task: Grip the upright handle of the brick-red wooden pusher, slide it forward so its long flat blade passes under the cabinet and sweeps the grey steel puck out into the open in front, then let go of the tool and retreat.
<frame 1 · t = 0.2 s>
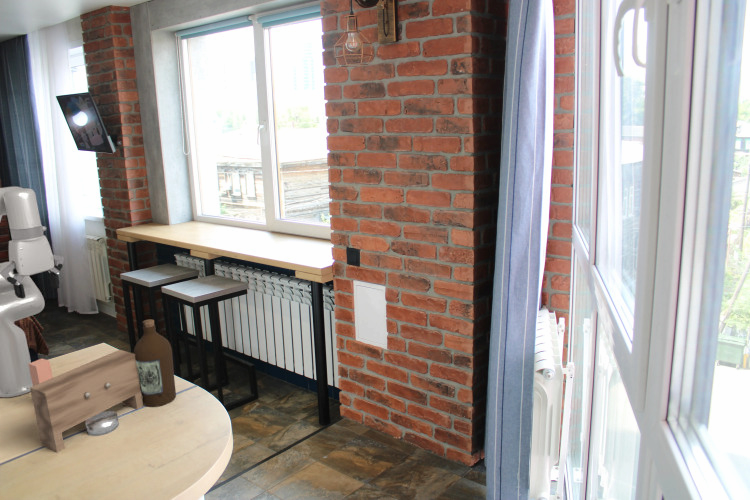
hand: (38, 292, 162), 35 cm above the table, tool pointing down, fingers open, 9 cm apart
puck: (103, 428, 158), on the table
olive oil: (159, 400, 172), on the table
pusher: (47, 405, 171), on the table
cabinet: (95, 424, 159), on the table
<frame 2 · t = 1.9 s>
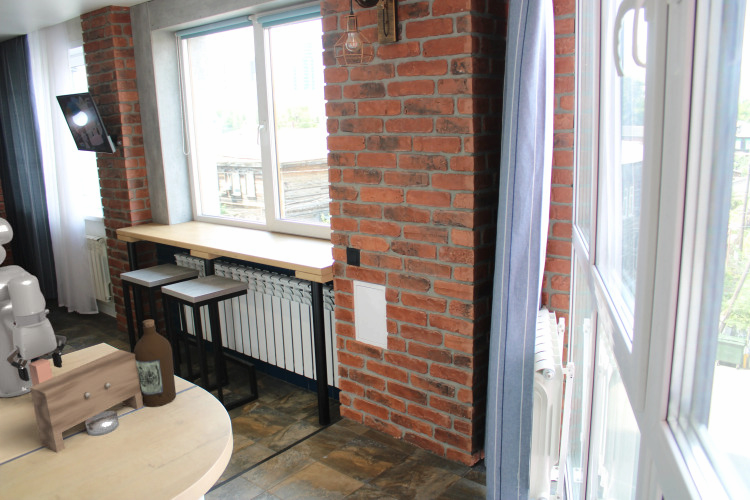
hand: (42, 373, 168), 11 cm above the table, tool pointing down, fingers open, 9 cm apart
nothing on the table moved.
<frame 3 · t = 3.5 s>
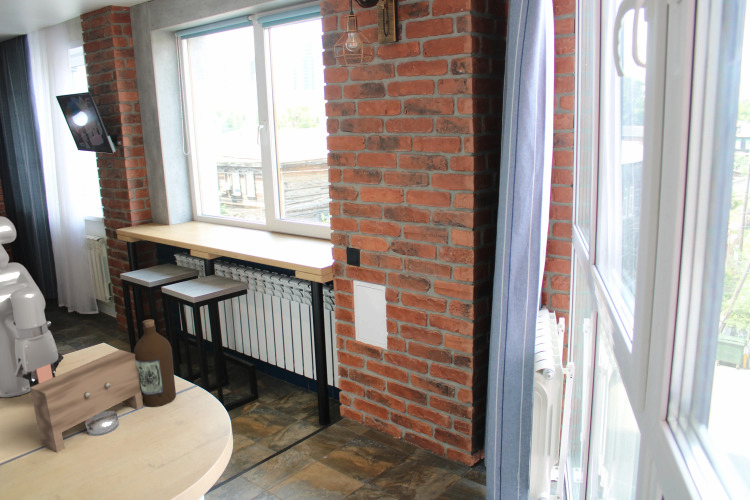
hand: (44, 387, 170), 6 cm above the table, tool pointing down, fingers closed on pusher, 4 cm apart
pusher: (47, 405, 171), on the table, touching gripper
everything else where it was.
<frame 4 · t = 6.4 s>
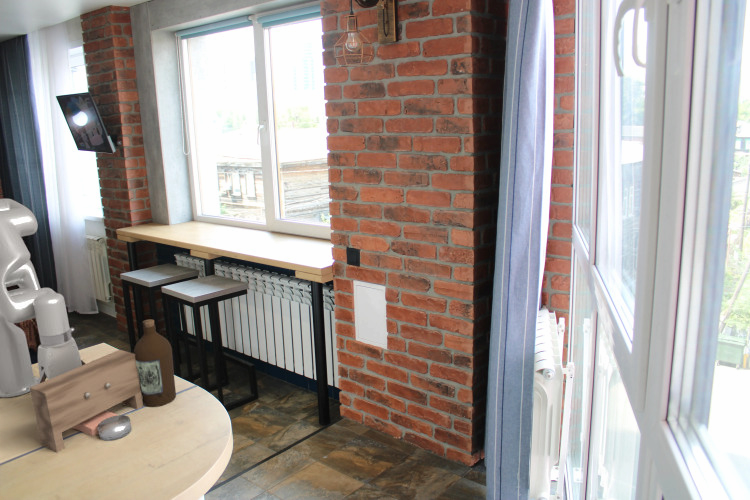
hand: (66, 396, 164), 6 cm above the table, tool pointing down, fingers closed on pusher, 4 cm apart
puck: (115, 432, 155), on the table, touching pusher
pusher: (70, 414, 166), on the table, touching gripper, puck
everything else where it was.
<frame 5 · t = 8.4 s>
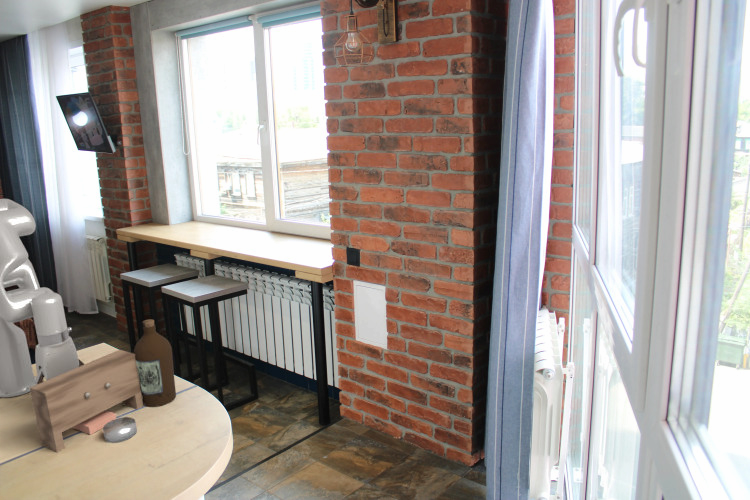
hand: (64, 395, 165), 6 cm above the table, tool pointing down, fingers closed on pusher, 4 cm apart
puck: (120, 435, 154), on the table
pusher: (67, 413, 166), on the table, touching gripper
everything else where it was.
when the fingers open (6 cm above the table, at t = 9.7 s): pusher stays where it is, on the table.
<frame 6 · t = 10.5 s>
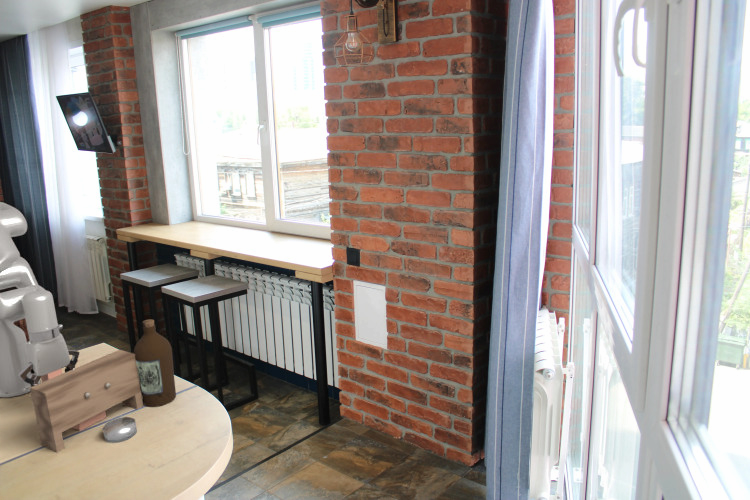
hand: (54, 388, 167), 7 cm above the table, tool pointing down, fingers open, 9 cm apart
pusher: (58, 409, 168), on the table
everything else where it was.
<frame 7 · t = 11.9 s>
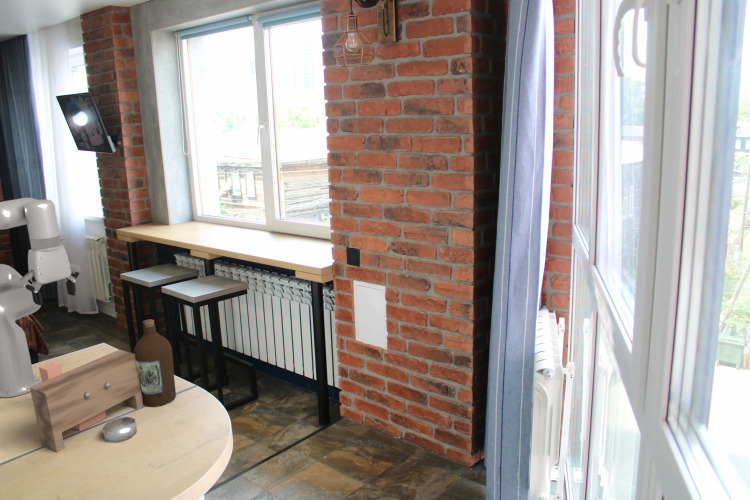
hand: (55, 299, 168), 31 cm above the table, tool pointing down, fingers open, 9 cm apart
nothing on the table moved.
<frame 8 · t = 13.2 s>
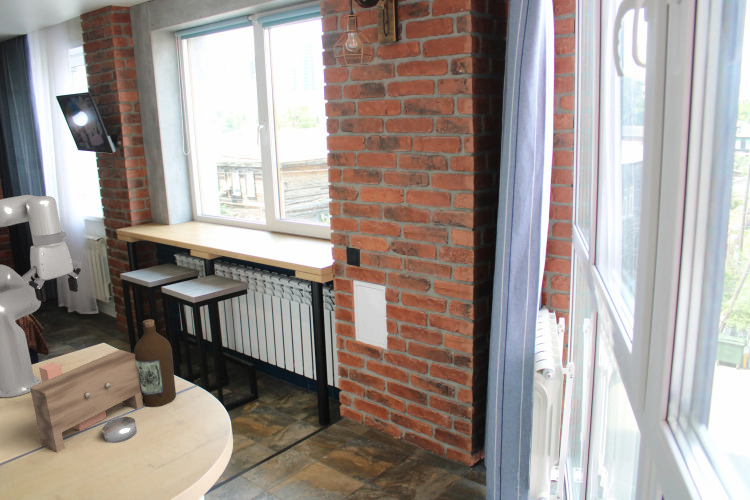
hand: (58, 295, 169), 32 cm above the table, tool pointing down, fingers open, 9 cm apart
nothing on the table moved.
at the end: puck inside the target area (11.0 cm from its centre), on the table; puck moved 7.5 cm from its start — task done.
